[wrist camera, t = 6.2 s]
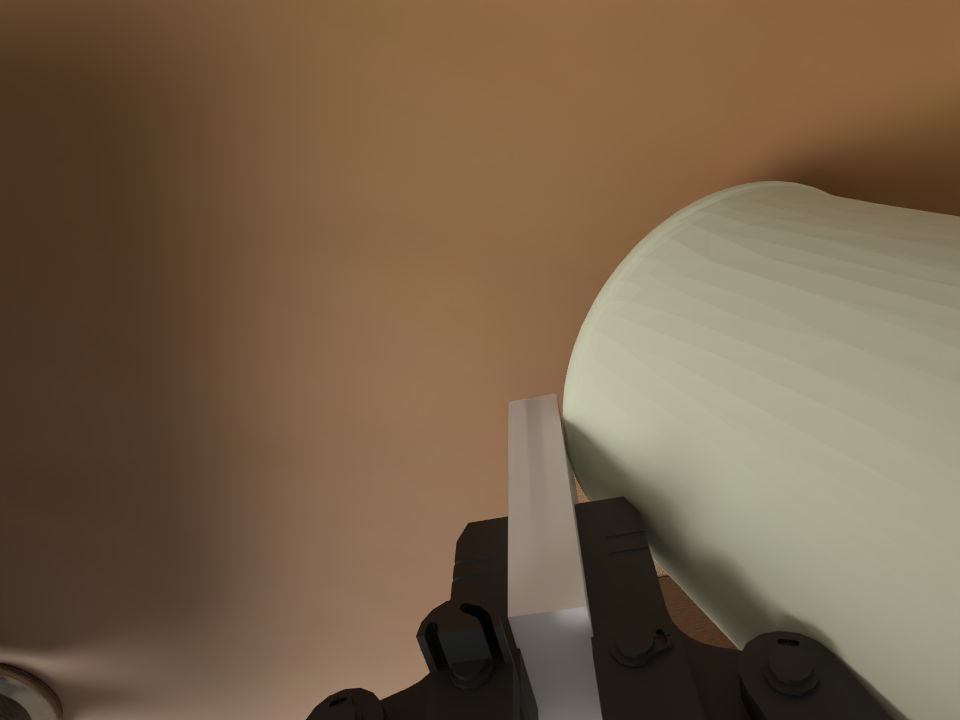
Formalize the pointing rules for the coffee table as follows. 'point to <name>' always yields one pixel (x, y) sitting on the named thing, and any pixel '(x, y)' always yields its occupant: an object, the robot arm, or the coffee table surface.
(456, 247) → the coffee table surface
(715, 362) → the can
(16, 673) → the hinge post
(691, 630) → the latch post
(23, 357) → the coffee table surface
